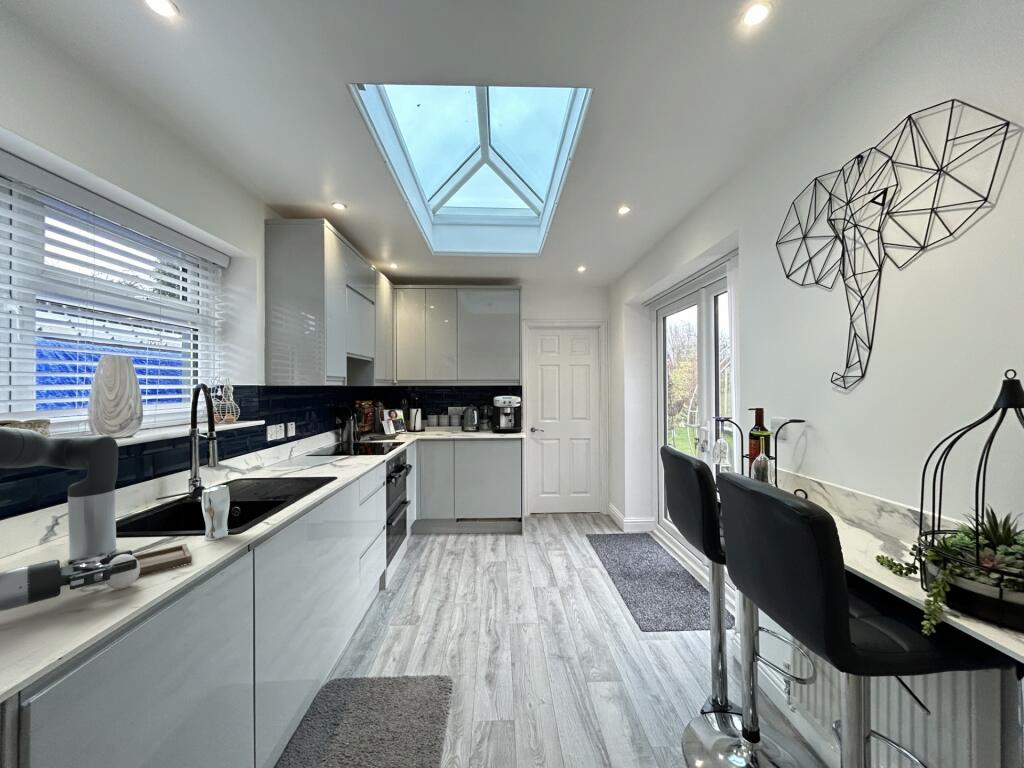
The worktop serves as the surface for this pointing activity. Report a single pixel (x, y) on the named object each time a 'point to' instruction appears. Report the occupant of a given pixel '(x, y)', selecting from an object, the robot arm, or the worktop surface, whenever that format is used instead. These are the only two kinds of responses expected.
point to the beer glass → (215, 511)
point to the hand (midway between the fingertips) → (134, 558)
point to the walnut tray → (163, 559)
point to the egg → (123, 574)
